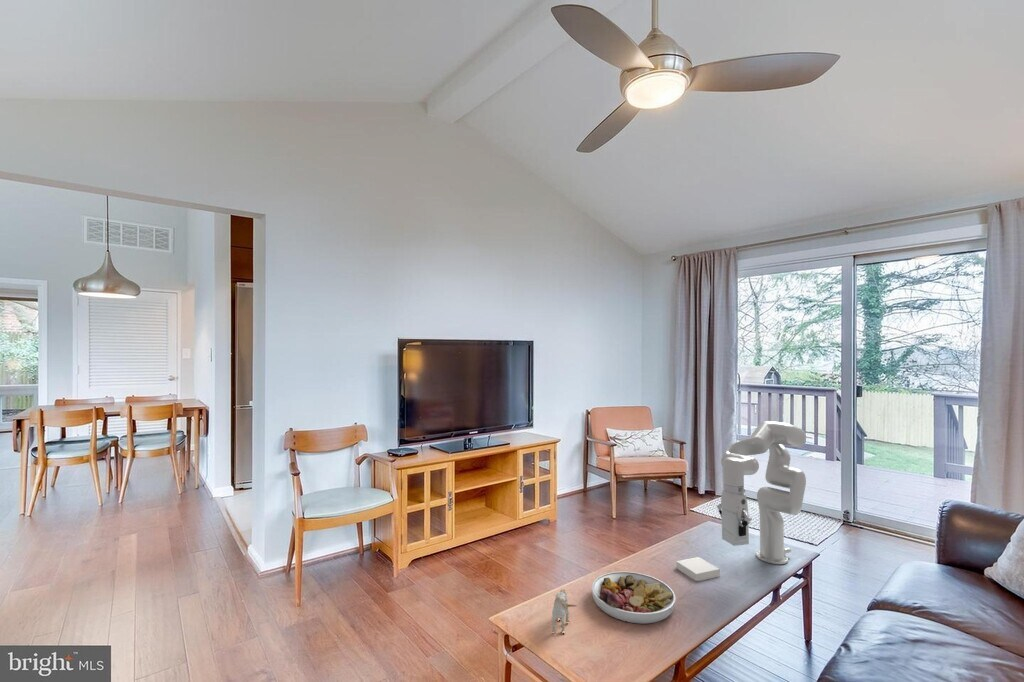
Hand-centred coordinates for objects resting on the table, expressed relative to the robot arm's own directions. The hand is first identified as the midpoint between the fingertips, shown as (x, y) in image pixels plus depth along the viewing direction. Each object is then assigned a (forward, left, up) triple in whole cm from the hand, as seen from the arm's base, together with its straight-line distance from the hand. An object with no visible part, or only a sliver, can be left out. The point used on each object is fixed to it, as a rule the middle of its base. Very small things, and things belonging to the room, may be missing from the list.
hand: (733, 531), depth 189 cm
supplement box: (-1, 0, -4) cm, 4 cm away
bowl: (+49, 0, -20) cm, 53 cm away
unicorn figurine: (+79, +7, -20) cm, 82 cm away
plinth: (+9, -11, -20) cm, 24 cm away
